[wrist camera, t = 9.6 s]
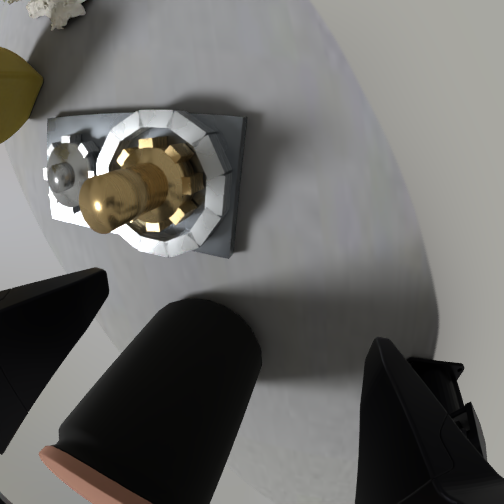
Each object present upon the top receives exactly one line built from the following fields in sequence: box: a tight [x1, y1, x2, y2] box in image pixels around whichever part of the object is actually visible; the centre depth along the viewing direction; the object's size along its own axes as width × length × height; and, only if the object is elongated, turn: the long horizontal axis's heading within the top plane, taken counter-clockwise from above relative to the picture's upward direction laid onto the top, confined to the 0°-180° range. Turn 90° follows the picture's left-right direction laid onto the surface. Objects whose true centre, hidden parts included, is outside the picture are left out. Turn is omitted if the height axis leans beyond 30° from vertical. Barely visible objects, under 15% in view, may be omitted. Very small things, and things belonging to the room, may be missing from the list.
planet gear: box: [79, 136, 204, 234], centre depth 18 cm, size 6×6×7 cm
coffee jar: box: [39, 299, 262, 504], centre depth 19 cm, size 11×11×18 cm
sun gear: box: [43, 134, 99, 215], centre depth 21 cm, size 7×7×3 cm
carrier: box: [47, 110, 247, 259], centre depth 21 cm, size 19×10×2 cm, turn 84°
